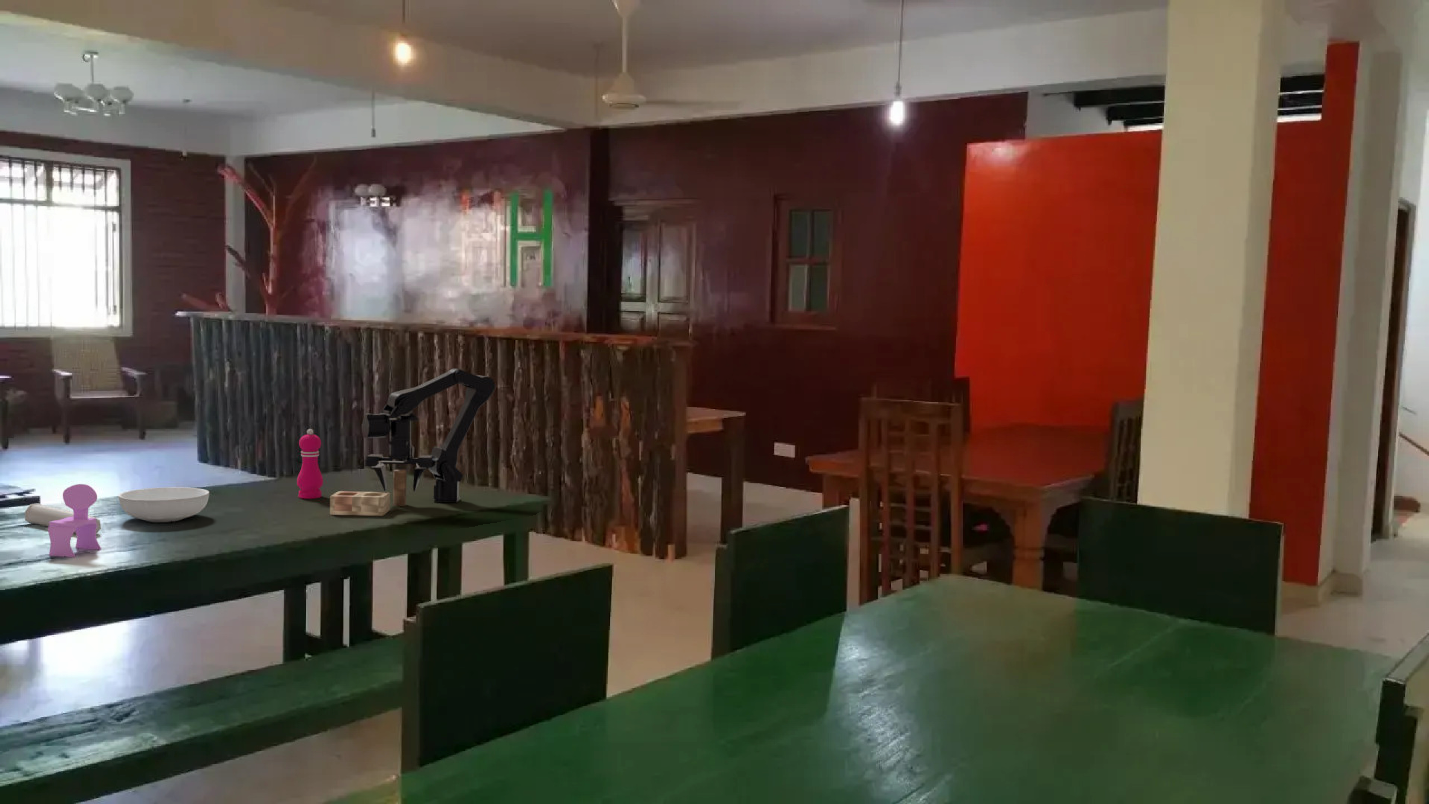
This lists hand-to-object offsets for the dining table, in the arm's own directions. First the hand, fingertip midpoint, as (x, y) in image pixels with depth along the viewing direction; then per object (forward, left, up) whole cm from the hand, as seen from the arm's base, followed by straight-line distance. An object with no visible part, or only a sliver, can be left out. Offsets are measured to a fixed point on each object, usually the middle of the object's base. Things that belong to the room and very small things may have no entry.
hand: (399, 490), depth 311 cm
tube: (+71, +41, -4) cm, 82 cm away
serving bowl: (+54, +26, -4) cm, 60 cm away
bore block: (+8, +12, -4) cm, 15 cm away
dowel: (0, 0, -4) cm, 4 cm away
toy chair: (+57, +65, -4) cm, 87 cm away
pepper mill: (+28, -10, -4) cm, 30 cm away
